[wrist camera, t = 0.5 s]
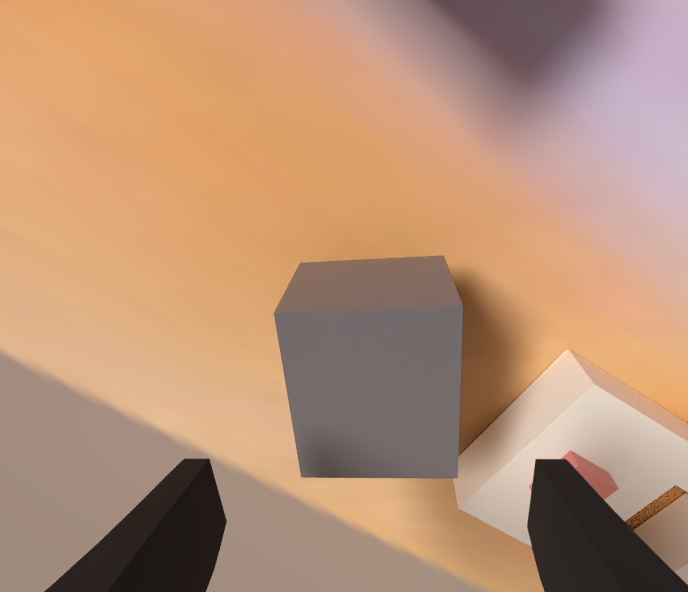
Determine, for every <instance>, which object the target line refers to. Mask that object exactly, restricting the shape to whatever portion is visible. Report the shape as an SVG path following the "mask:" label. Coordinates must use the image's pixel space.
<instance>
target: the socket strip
mask: <svg viewBox="0 0 688 592" xmlns="http://www.w3.org/2000/svg"><path fill="white" fill-rule="evenodd" d="M535 459H566V460H567V461H569V462H570V463H571V464H572V466H573V467H574V468H575V469H576V470H577V471H578V472H579V473H580V474H581V475H582V476H583V477H584V479H585V480H586V481H587V482H588V483H589V484H590V485H591V486H592V487H593V488H594V489H595V491H596V492H597V493H598V494H599V495H600V496H601V497H602V498H603V499H604V500H605V501H606V502H607V503H608V505H609V506H610V507H611V508H612V509H613V510H614V511H615V512H616V513H617V514H618V515H619V516H620V517H621V518H622V519H623V520H624V521H626V520H627V519H629V518H630V517H632V516H633V515H634V514H636V513H637V512H639V511H640V510H641V509H643V508H644V507H646V506H647V505H648V504H650V503H651V502H652V501H654V500H655V499H657V498H658V497H659V496H661V495H662V494H664V493H665V492H666V491H668V490H669V489H671V488H672V487H673V486H675V485H676V486H678V487H679V488H681V489H683V490H684V491H686V492H687V493H685V494H684V495H682V496H681V497H680V498H678V499H677V500H675V501H674V502H672V503H671V504H670V505H668V506H667V507H665V508H664V509H662V510H661V511H660V512H658V513H657V514H655V515H654V516H652V517H651V518H650V519H648V520H647V521H645V522H644V523H643V524H641V525H640V526H638V527H637V528H635V529H634V530H633V531H634V532H635V533H636V534H637V535H638V536H639V537H640V538H641V539H642V540H643V541H644V542H645V543H646V544H647V545H648V546H649V547H650V548H651V549H652V550H653V551H654V552H655V553H656V554H657V555H658V556H659V557H660V558H661V559H662V560H663V561H664V562H665V563H666V564H667V565H668V566H669V567H670V568H671V569H672V570H673V571H674V572H675V573H676V574H677V575H678V576H679V577H680V578H681V579H682V580H683V581H684V582H685V583H686V584H688V423H686V422H685V421H683V420H681V419H680V418H678V417H677V416H675V415H673V414H672V413H670V412H669V411H667V410H665V409H664V408H662V407H661V406H659V405H657V404H656V403H654V402H653V401H651V400H649V399H648V398H646V397H645V396H643V395H641V394H640V393H638V392H637V391H635V390H633V389H632V388H630V387H629V386H627V385H625V384H624V383H622V382H621V381H619V380H617V379H616V378H614V377H613V376H611V375H609V374H608V373H606V372H604V371H603V370H601V369H600V368H598V367H596V366H595V365H593V364H592V363H590V362H588V361H587V360H585V359H584V358H582V357H580V356H579V355H577V354H576V353H574V352H572V351H571V350H569V349H568V348H567V349H566V350H565V351H564V352H563V353H562V354H561V355H560V356H559V357H558V358H557V359H556V360H555V361H554V362H553V363H552V364H551V365H550V366H549V367H548V368H547V369H546V370H545V371H544V372H543V373H542V374H541V375H540V376H539V377H538V378H537V379H536V380H535V381H534V382H533V383H532V384H531V385H530V386H529V387H528V388H527V389H526V390H525V391H524V392H523V393H522V394H521V395H520V396H519V397H518V398H517V399H516V400H515V401H514V402H513V403H512V404H511V405H510V406H509V407H508V408H507V409H506V410H505V411H504V412H503V413H502V414H501V415H500V416H499V417H498V418H497V419H496V420H495V421H494V422H493V423H492V424H491V425H490V426H489V427H488V428H487V429H486V430H485V431H484V432H483V433H482V434H481V435H480V436H479V437H478V438H477V439H476V440H475V441H474V442H473V443H472V444H471V445H470V446H469V447H468V448H467V449H466V450H465V451H464V452H463V453H462V454H461V455H460V456H459V457H458V478H453V483H454V488H455V494H456V499H457V505H458V509H460V510H462V511H464V512H466V513H468V514H470V515H471V516H473V517H475V518H477V519H479V520H481V521H483V522H485V523H487V524H489V525H490V526H492V527H494V528H496V529H498V530H500V531H502V532H504V533H506V534H507V535H509V536H511V537H513V538H515V539H517V540H519V541H521V542H523V543H524V544H526V545H528V546H530V547H532V545H531V541H530V537H529V533H528V529H527V522H528V514H529V506H530V498H531V491H532V483H533V475H534V467H535Z"/></svg>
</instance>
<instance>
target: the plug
mask: <svg viewBox="0 0 688 592" xmlns="http://www.w3.org/2000/svg"><path fill="white" fill-rule="evenodd" d="M274 316H275V322H276V328H277V334H278V340H279V346H280V352H281V358H282V364H283V370H284V376H285V382H286V388H287V394H288V400H289V406H290V412H291V418H292V424H293V430H294V436H295V442H296V448H297V454H298V460H299V466H300V472H301V477H317V478H458V455H459V424H460V392H461V361H462V329H463V304H462V301H461V299H460V296H459V294H458V291H457V289H456V286H455V283H454V281H453V278H452V276H451V273H450V271H449V268H448V265H447V263H446V260H445V258H444V256H426V257H407V258H387V259H368V260H348V261H328V262H309V263H300V264H299V266H298V268H297V270H296V272H295V274H294V276H293V278H292V280H291V282H290V284H289V285H288V287H287V289H286V291H285V293H284V295H283V297H282V299H281V301H280V303H279V304H278V306H277V308H276V310H275V312H274Z"/></svg>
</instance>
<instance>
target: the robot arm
mask: <svg viewBox="0 0 688 592" xmlns="http://www.w3.org/2000/svg"><path fill="white" fill-rule="evenodd" d="M226 522H227V521H226V518H225V514H224V511H223V507H222V503H221V499H220V496H219V492H218V489H217V485H216V481H215V478H214V474H213V471H212V467H211V463H210V460H209V459H184V460H183V461H181V462H180V463H179V465H177V466H176V467H175V468H174V469H173V470H172V471H171V472H170V473H169V474H168V475H167V476H166V477H165V478H164V479H163V480H162V481H161V482H160V483H159V484H158V485H157V486H156V487H155V488H154V489H153V490H152V491H151V492H150V493H149V494H148V495H147V496H146V497H145V498H144V499H143V500H142V501H141V502H140V503H139V504H138V505H137V506H136V507H135V508H134V509H133V510H132V511H131V512H130V513H129V514H128V515H127V516H126V517H125V518H124V519H123V520H122V521H121V522H120V523H119V524H118V525H116V526H115V527H114V528H113V529H112V530H111V531H110V532H109V533H108V534H107V535H106V536H105V537H104V538H103V539H102V540H101V541H100V542H99V543H98V544H97V545H96V546H94V548H92V549H91V550H90V551H89V552H88V553H87V554H86V555H85V556H83V558H81V559H80V560H79V561H78V562H77V563H76V564H75V565H74V566H72V567H71V568H70V569H69V570H68V571H67V572H66V573H65V574H64V575H63V576H61V578H59V579H58V580H57V581H56V582H55V583H54V584H53V585H52V586H51V587H49V588H48V589H47V590H46V591H45V592H206V590H207V587H208V585H209V582H210V579H211V576H212V574H213V571H214V568H215V564H216V561H217V557H218V553H219V550H220V546H221V542H222V537H223V534H224V530H225V525H226ZM527 529H528V533H529V537H530V541H531V545H532V549H533V553H534V557H535V561H536V565H537V568H538V572H539V576H540V580H541V582H542V585H543V588H544V591H545V592H688V584H686V583H685V582H684V581H683V580H682V579H681V578H680V577H679V576H678V575H677V574H676V573H675V572H674V571H673V570H672V569H671V568H670V567H669V566H668V565H667V564H666V563H665V562H664V561H663V560H662V559H661V558H660V557H659V556H658V555H657V554H656V553H655V552H654V551H653V550H652V549H651V548H650V547H649V546H648V545H647V544H646V543H645V542H644V541H643V540H642V539H641V538H640V537H639V536H638V535H637V534H636V533H635V532H634V531H633V530H632V529H631V528H630V527H629V526H628V525H627V524H626V522H625V521H624V520H623V519H622V518H621V517H620V516H619V515H618V514H617V513H616V512H615V511H614V510H613V509H612V508H611V507H610V506H609V505H608V503H607V502H606V501H605V500H604V499H603V498H602V497H601V496H600V495H599V494H598V493H597V492H596V491H595V489H594V488H593V487H592V486H591V485H590V484H589V483H588V482H587V481H586V480H585V479H584V477H583V476H582V475H581V474H580V473H579V472H578V471H577V470H576V469H575V468H574V467H573V466H572V464H571V463H570V462H569V461H567V460H566V459H535V467H534V475H533V483H532V491H531V498H530V506H529V514H528V522H527Z"/></svg>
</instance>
